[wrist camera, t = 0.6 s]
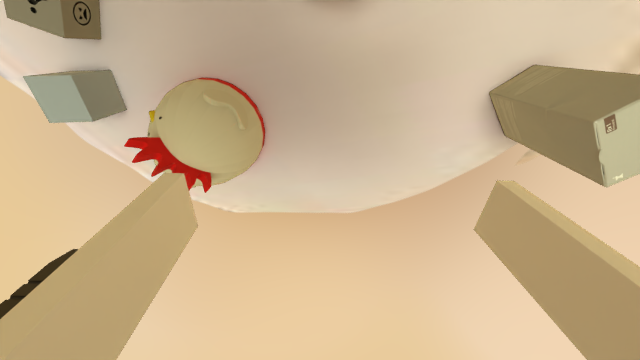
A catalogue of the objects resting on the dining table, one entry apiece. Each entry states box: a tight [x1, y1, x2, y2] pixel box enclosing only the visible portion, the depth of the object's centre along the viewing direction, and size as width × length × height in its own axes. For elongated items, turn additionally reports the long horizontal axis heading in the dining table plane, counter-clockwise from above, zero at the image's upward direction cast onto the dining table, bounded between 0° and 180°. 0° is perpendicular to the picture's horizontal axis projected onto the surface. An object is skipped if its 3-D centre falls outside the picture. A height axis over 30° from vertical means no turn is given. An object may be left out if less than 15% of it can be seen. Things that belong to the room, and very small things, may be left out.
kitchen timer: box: [124, 78, 265, 193], centre depth 29 cm, size 14×14×15 cm
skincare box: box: [489, 65, 640, 187], centre depth 28 cm, size 8×7×16 cm
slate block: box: [23, 70, 127, 123], centre depth 29 cm, size 5×5×6 cm
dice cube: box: [4, 0, 101, 39], centre depth 25 cm, size 5×5×5 cm
